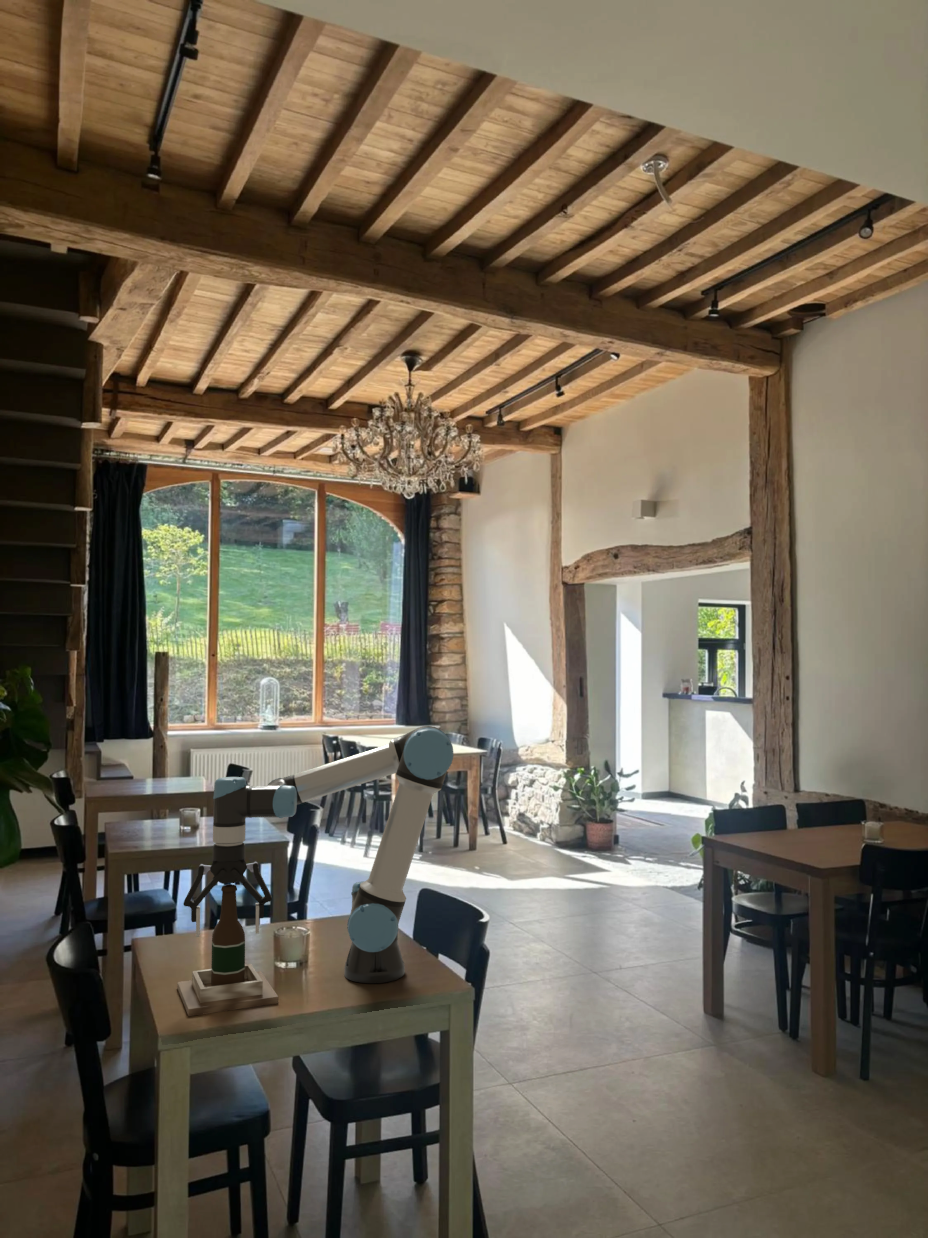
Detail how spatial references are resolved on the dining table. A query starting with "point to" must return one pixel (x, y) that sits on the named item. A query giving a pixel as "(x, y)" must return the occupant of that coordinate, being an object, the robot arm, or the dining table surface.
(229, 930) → the beer bottle
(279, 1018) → the dining table surface
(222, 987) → the rim board
